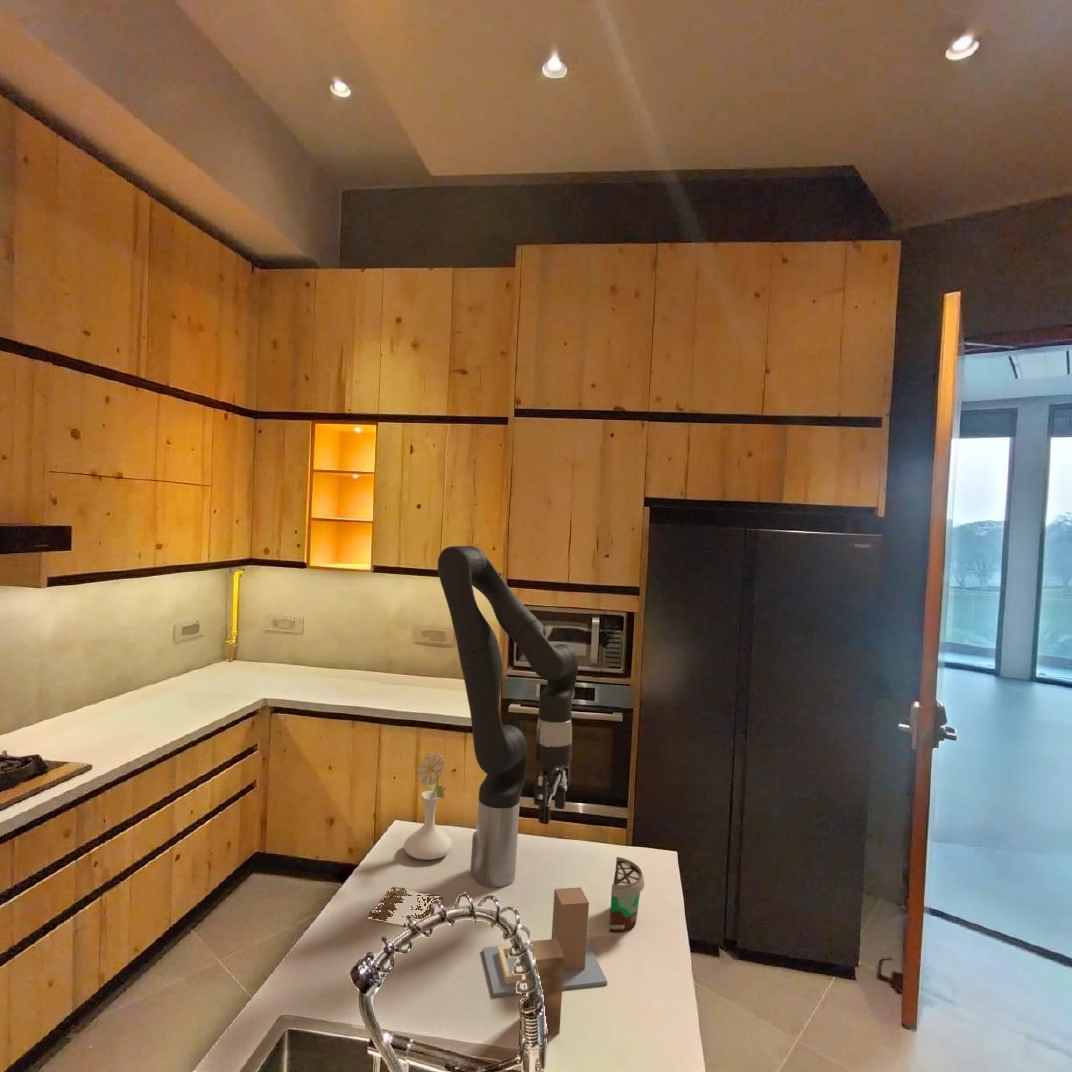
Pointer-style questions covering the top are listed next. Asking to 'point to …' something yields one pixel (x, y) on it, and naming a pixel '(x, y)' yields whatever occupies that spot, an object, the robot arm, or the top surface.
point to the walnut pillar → (550, 979)
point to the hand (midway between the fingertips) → (552, 815)
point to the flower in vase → (429, 814)
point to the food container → (625, 896)
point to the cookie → (393, 899)
